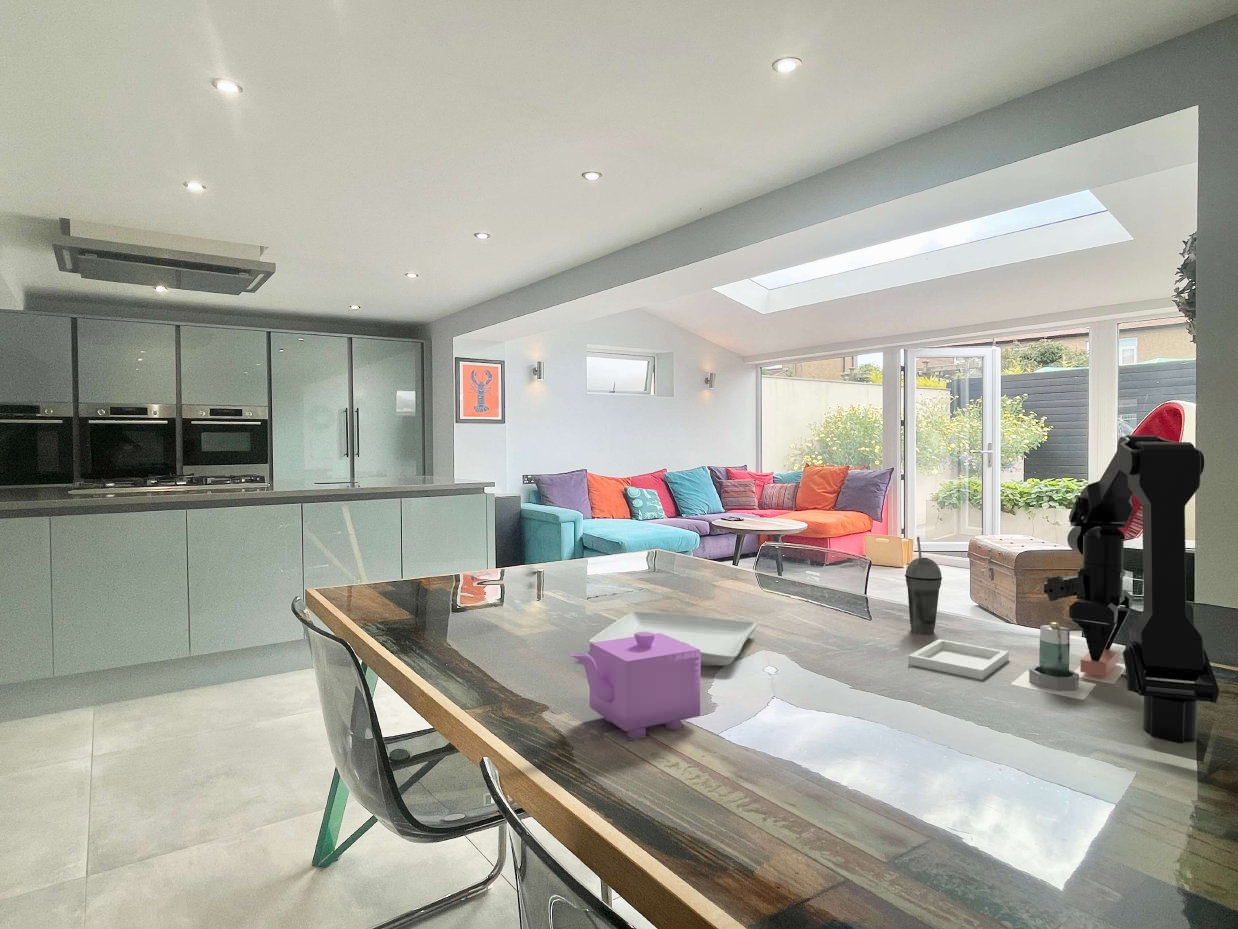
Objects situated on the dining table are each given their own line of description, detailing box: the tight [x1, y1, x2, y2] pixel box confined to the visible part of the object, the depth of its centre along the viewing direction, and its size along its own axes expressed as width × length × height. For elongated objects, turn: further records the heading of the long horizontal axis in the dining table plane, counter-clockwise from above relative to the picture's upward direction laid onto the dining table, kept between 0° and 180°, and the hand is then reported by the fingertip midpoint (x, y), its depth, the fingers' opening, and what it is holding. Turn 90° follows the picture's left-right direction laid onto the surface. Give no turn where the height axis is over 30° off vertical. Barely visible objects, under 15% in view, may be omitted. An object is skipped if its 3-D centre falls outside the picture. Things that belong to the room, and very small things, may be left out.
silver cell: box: [1038, 621, 1071, 677], centre depth 116 cm, size 4×4×10 cm
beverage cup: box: [904, 536, 943, 635], centre depth 152 cm, size 7×7×20 cm
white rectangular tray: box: [907, 638, 1010, 680], centre depth 128 cm, size 15×12×2 cm
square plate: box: [587, 610, 758, 667], centre depth 140 cm, size 27×27×4 cm
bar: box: [1080, 647, 1120, 676], centre depth 123 cm, size 12×4×2 cm, turn 137°
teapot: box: [569, 632, 701, 739], centre depth 100 cm, size 20×10×12 cm, turn 120°
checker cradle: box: [1009, 662, 1126, 701], centre depth 121 cm, size 26×12×3 cm, turn 137°
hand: (1100, 654), depth 123 cm, fingers open, 9 cm apart
